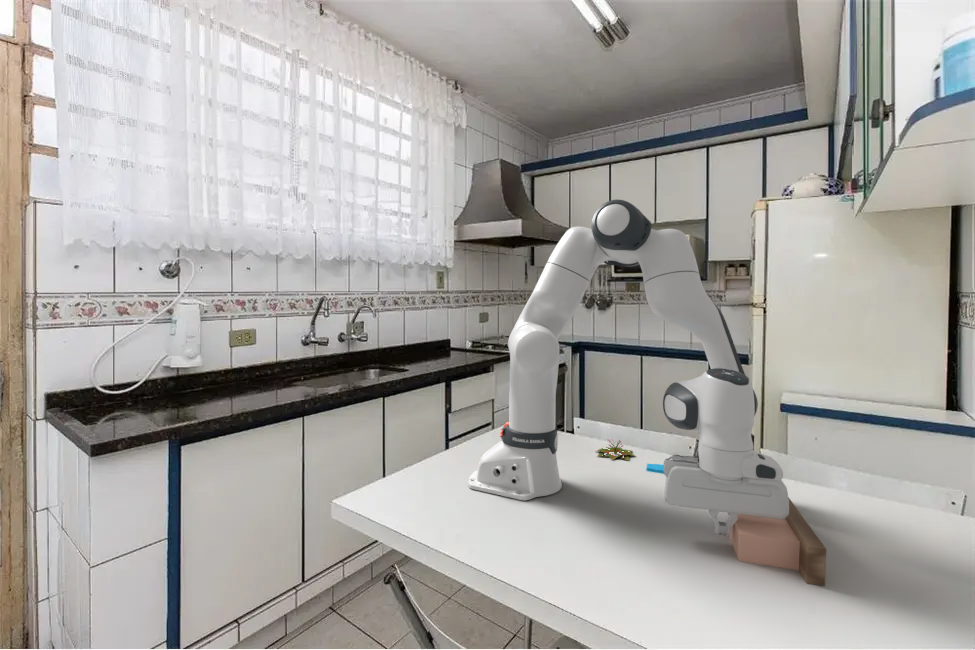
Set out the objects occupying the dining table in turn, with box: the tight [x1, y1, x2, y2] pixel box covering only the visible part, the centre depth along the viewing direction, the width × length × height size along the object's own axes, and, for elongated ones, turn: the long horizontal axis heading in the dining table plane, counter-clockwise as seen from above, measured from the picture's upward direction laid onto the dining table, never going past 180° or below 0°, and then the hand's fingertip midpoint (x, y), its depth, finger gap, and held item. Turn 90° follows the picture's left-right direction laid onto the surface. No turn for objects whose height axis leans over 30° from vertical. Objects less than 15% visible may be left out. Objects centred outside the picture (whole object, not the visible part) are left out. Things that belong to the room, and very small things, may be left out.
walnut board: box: [785, 496, 827, 587], centre depth 85 cm, size 2×22×6 cm, turn 162°
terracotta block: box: [729, 514, 800, 571], centre depth 84 cm, size 9×9×5 cm
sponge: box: [646, 463, 665, 475], centre depth 123 cm, size 2×12×6 cm
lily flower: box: [596, 438, 636, 461], centre depth 136 cm, size 12×12×5 cm
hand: (722, 533), depth 87 cm, fingers closed
